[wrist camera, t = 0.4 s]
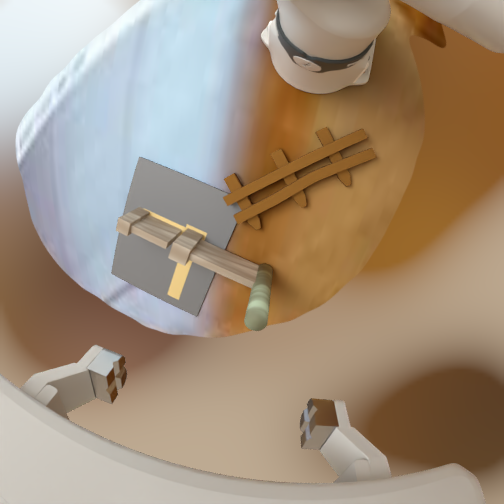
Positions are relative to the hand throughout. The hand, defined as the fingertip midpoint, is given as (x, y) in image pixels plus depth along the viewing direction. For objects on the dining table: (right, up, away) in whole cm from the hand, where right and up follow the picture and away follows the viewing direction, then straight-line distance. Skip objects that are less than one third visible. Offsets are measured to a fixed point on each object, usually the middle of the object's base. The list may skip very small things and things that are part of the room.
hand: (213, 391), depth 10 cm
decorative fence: (+9, +18, +33) cm, 39 cm away
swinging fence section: (-2, +5, +39) cm, 39 cm away
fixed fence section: (-15, +11, +38) cm, 43 cm away
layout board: (-14, +8, +40) cm, 43 cm away
